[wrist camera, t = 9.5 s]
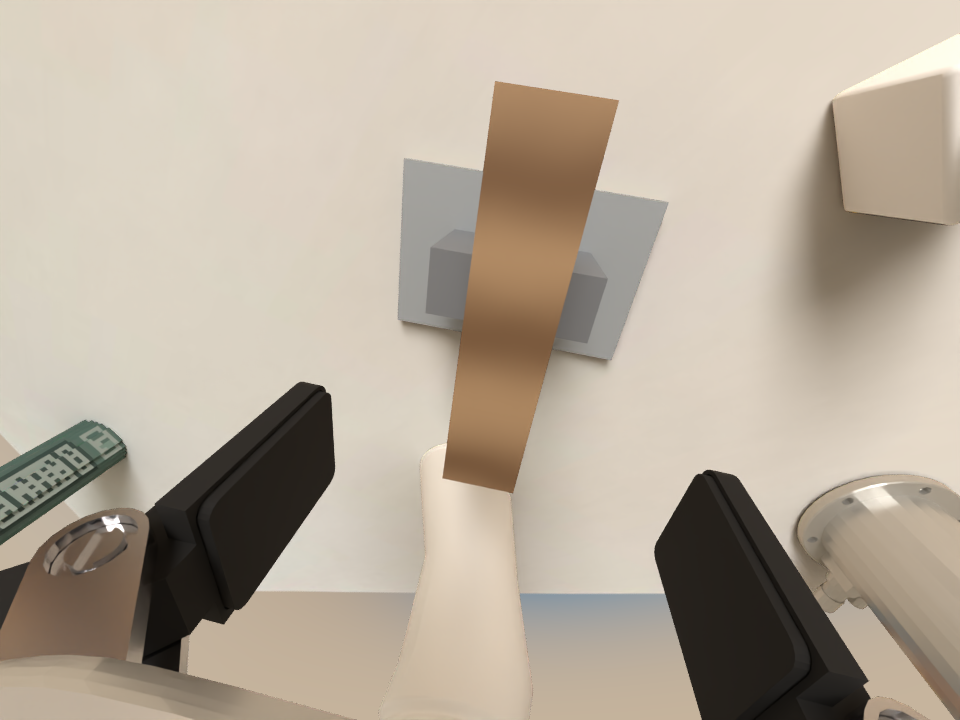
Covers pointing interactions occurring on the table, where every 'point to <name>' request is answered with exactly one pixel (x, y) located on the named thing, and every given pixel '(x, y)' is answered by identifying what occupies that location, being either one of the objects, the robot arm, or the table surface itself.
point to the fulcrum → (449, 245)
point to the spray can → (463, 610)
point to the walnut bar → (520, 270)
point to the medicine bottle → (903, 139)
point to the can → (54, 473)
